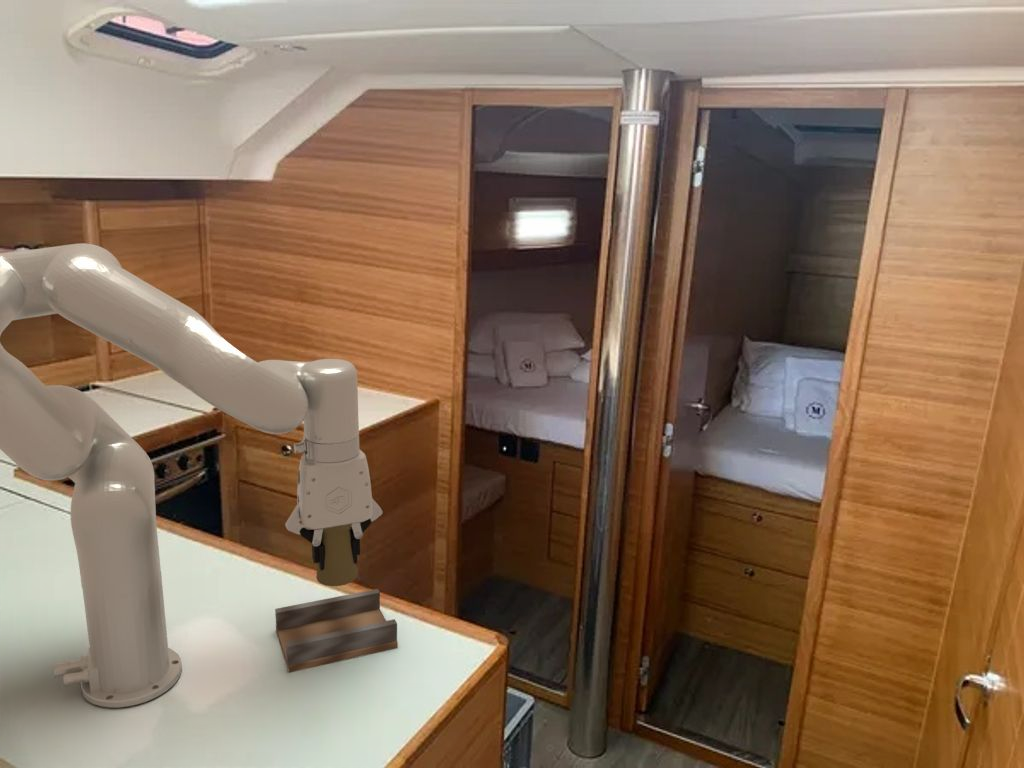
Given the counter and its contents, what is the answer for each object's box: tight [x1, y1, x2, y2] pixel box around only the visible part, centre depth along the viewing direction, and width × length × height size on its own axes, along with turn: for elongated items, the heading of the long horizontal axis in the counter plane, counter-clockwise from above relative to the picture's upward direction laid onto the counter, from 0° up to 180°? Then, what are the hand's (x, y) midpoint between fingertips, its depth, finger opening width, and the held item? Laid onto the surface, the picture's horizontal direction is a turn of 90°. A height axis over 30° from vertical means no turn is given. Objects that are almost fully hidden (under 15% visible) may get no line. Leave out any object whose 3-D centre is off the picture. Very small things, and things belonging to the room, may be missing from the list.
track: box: [274, 588, 399, 673], centre depth 121 cm, size 16×11×4 cm
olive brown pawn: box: [315, 524, 359, 587], centre depth 117 cm, size 6×6×11 cm
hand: (336, 561), depth 118 cm, fingers closed on olive brown pawn, 4 cm apart
